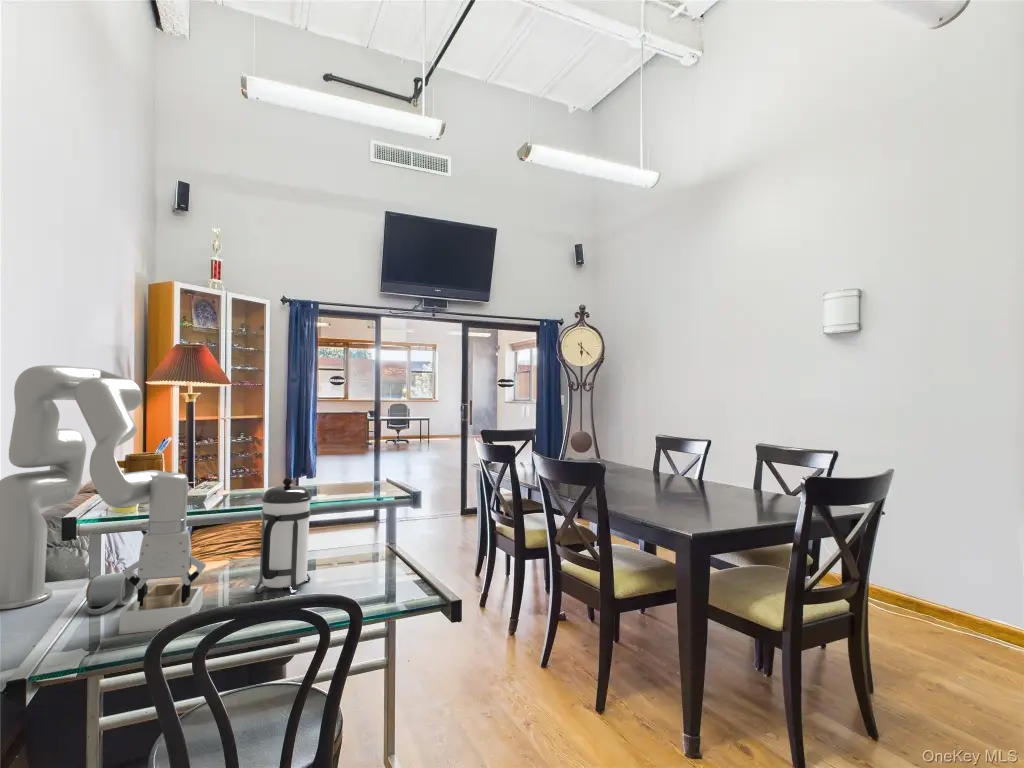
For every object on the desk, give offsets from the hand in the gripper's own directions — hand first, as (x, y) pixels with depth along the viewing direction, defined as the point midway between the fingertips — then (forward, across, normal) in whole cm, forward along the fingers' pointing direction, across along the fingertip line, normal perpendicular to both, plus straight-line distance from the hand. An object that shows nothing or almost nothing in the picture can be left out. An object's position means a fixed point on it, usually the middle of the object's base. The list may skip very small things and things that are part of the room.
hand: (164, 602), depth 126 cm
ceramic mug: (+4, -14, +12) cm, 19 cm away
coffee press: (+4, +25, +14) cm, 29 cm away
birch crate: (+3, 0, 0) cm, 3 cm away
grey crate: (+4, 0, 0) cm, 4 cm away
